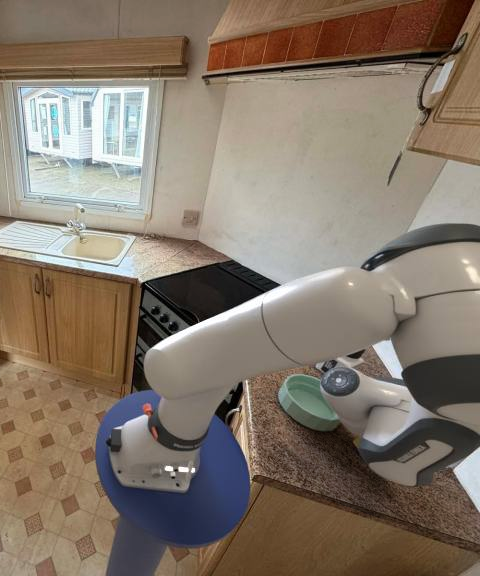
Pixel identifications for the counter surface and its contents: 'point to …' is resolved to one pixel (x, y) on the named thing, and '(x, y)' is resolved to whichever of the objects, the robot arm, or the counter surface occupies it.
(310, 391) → the bowl
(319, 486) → the counter surface
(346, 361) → the container
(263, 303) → the robot arm
